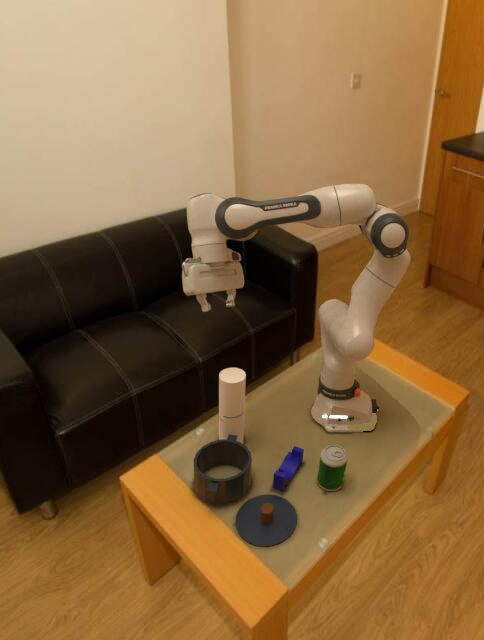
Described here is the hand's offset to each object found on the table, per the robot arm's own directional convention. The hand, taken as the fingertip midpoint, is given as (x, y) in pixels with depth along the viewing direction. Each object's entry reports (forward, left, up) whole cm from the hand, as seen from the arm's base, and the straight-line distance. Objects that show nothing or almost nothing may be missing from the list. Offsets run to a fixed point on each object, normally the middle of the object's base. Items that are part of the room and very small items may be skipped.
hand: (219, 308), depth 132 cm
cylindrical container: (-5, +5, -43) cm, 43 cm away
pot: (-7, +21, -43) cm, 48 cm away
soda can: (-36, +16, -43) cm, 58 cm away
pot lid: (-21, +31, -42) cm, 56 cm away
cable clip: (-23, +15, -43) cm, 51 cm away
